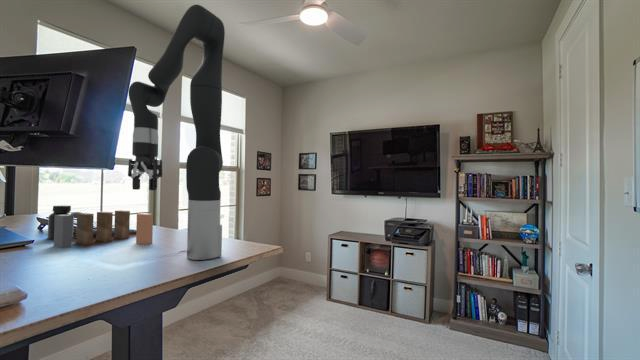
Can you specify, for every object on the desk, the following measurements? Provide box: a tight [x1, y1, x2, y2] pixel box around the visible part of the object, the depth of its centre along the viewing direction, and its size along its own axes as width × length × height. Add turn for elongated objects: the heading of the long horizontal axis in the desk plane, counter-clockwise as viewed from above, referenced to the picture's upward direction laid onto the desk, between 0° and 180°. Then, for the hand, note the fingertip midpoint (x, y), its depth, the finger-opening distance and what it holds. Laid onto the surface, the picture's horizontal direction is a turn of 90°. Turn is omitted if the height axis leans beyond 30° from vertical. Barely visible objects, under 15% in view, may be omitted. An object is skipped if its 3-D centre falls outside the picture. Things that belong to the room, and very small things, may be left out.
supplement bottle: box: [47, 205, 75, 241], centre depth 104 cm, size 7×7×12 cm
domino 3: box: [113, 209, 131, 240], centre depth 109 cm, size 2×5×10 cm, turn 65°
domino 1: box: [75, 212, 95, 246], centre depth 98 cm, size 2×5×10 cm, turn 65°
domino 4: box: [135, 212, 154, 245], centre depth 100 cm, size 2×5×10 cm, turn 65°
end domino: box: [53, 215, 73, 249], centre depth 93 cm, size 2×5×10 cm, turn 65°
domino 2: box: [95, 211, 114, 243], centre depth 104 cm, size 2×5×10 cm, turn 65°
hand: (144, 189), depth 100 cm, fingers open, 8 cm apart
